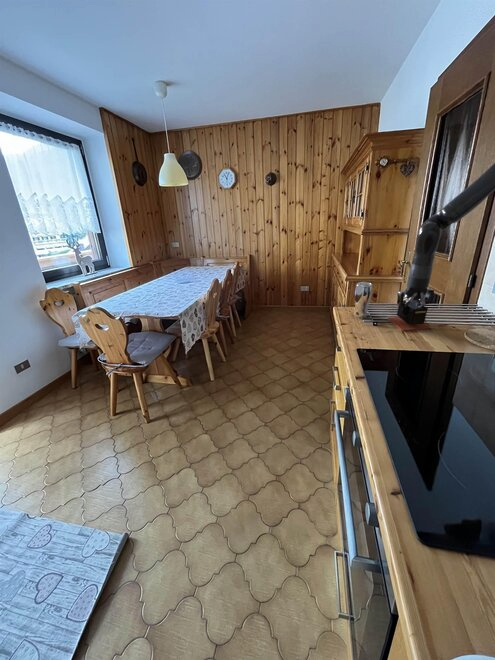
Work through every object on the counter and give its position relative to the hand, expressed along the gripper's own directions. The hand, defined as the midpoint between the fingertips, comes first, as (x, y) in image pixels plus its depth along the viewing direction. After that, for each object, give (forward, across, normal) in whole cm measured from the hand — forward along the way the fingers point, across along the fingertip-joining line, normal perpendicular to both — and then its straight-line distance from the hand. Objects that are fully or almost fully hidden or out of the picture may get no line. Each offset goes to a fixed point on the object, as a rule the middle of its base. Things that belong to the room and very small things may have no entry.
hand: (410, 313), depth 119 cm
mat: (+5, 0, 0) cm, 5 cm away
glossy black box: (+3, 0, 0) cm, 3 cm away
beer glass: (+5, +16, -12) cm, 21 cm away
